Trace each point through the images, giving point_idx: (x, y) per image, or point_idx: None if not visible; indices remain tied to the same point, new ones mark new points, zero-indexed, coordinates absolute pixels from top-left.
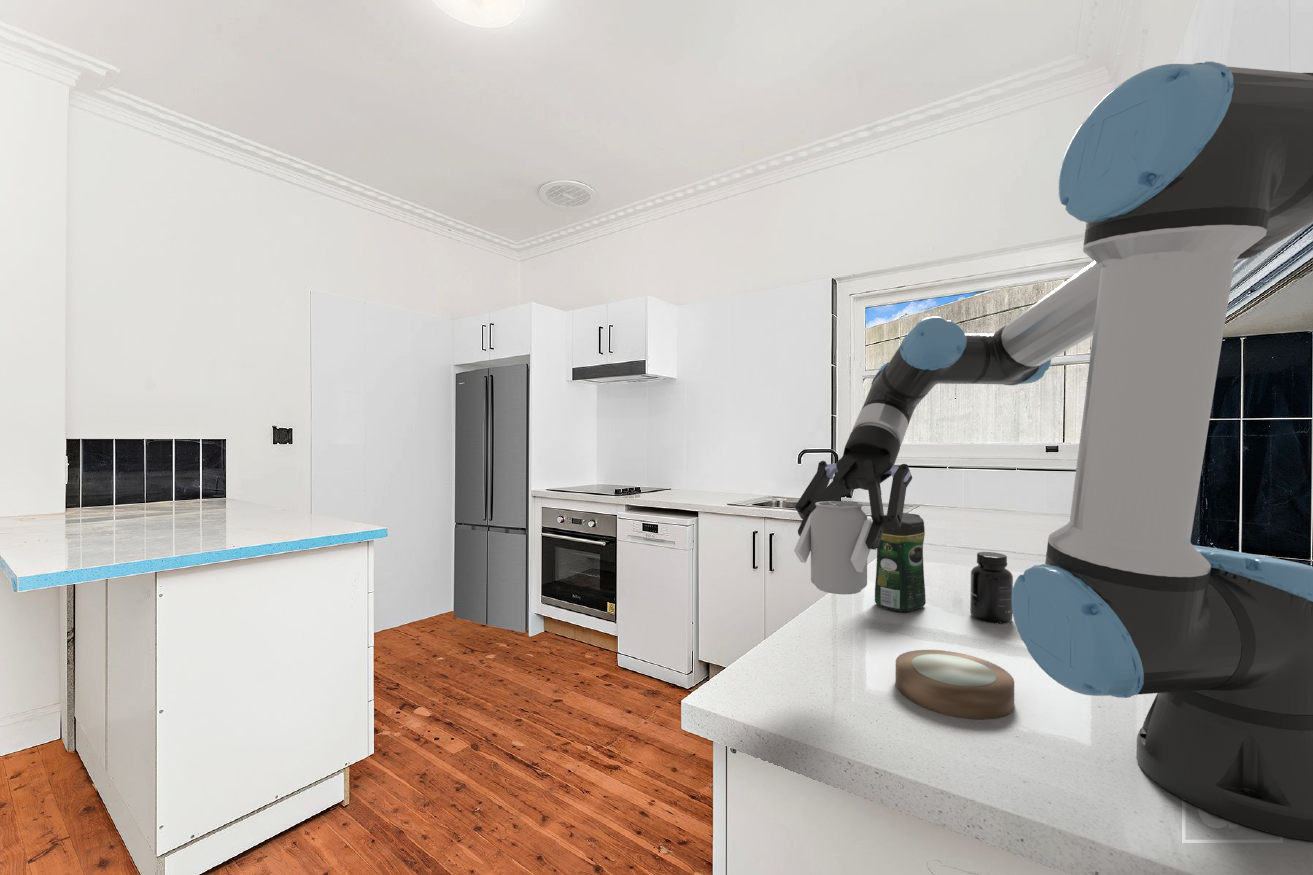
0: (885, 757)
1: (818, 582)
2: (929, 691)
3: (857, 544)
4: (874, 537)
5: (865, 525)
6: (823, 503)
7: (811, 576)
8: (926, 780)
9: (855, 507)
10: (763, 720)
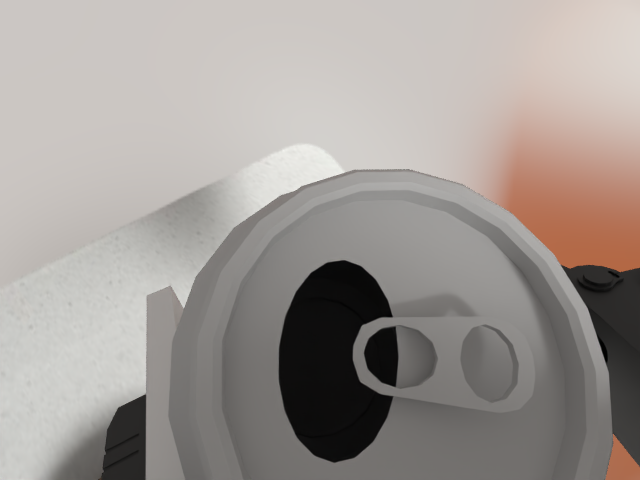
0: (91, 272)
1: (308, 276)
2: None
3: (167, 333)
4: (114, 442)
5: (171, 442)
6: (560, 321)
7: (350, 279)
8: (26, 282)
9: (192, 387)
10: (240, 189)
